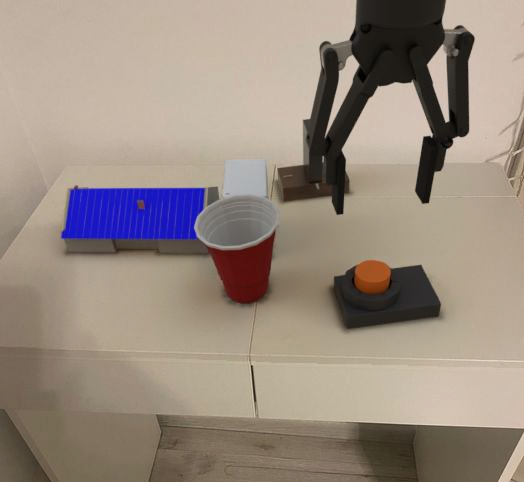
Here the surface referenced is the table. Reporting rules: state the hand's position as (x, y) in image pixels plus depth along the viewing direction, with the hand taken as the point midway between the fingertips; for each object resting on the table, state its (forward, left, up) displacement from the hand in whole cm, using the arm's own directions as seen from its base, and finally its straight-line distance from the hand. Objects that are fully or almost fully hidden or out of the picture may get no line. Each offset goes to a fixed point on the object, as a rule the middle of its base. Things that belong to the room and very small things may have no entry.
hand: (379, 202), depth 62 cm
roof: (+30, -24, -16) cm, 41 cm away
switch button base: (-2, 0, -15) cm, 16 cm away
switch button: (0, 0, -12) cm, 12 cm away
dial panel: (+2, -30, -15) cm, 34 cm away
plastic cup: (+16, -6, -16) cm, 23 cm away
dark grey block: (+2, -30, -13) cm, 33 cm away
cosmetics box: (+14, -18, -16) cm, 28 cm away
